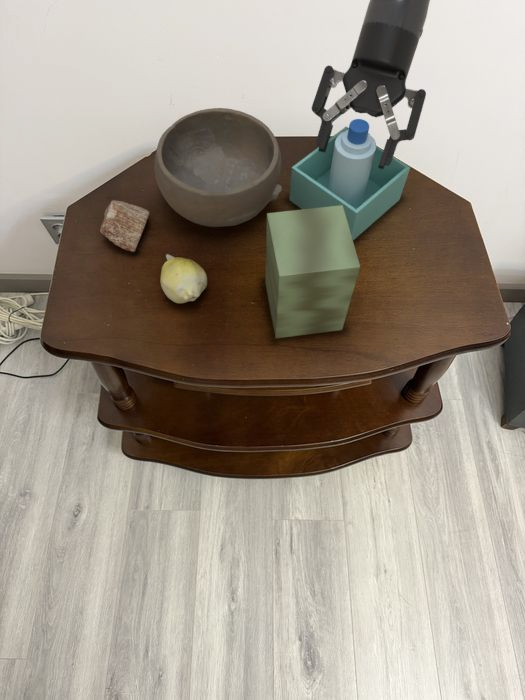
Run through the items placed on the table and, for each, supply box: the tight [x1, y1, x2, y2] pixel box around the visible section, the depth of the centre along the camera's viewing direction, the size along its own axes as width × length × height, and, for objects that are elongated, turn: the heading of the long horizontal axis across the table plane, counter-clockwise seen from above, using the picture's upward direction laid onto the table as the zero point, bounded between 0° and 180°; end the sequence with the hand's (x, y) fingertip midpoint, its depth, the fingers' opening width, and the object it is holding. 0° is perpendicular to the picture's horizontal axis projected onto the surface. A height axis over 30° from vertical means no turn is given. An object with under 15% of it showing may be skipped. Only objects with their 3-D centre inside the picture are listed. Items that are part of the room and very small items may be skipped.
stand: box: [264, 205, 361, 339], centre depth 66 cm, size 9×9×14 cm
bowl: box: [153, 107, 283, 228], centre depth 76 cm, size 17×18×10 cm
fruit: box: [159, 253, 208, 304], centre depth 71 cm, size 6×6×10 cm
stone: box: [99, 200, 150, 253], centre depth 76 cm, size 7×6×5 cm
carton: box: [288, 126, 411, 241], centre depth 78 cm, size 12×12×6 cm
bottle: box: [328, 118, 377, 209], centre depth 75 cm, size 6×6×13 cm
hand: (351, 160), depth 73 cm, fingers open, 8 cm apart
